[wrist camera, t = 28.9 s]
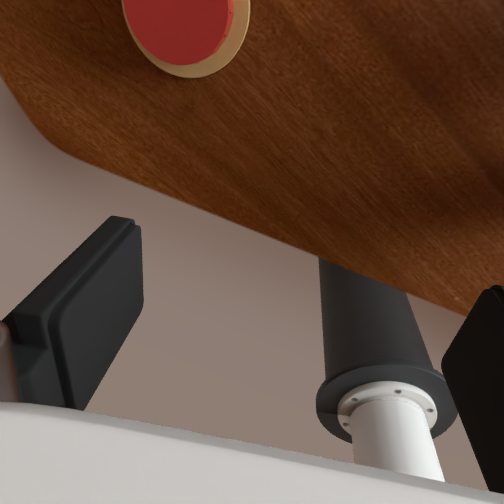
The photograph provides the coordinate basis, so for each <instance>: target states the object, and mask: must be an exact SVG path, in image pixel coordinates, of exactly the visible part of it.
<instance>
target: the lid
mask: <svg viewBox="0 0 504 504" xmlns="http://www.w3.org/2000/svg"><path fill="white" fill-rule="evenodd" d="M123 3H124V9H125V13H126V16H127V20H128V22H129V25H130V27H131V29H132V31H133V33H134V35H135V36H136V38H137V39H138V41H139V42H140V43H141V44H142V46H143V47H144V48H145V49H146V50H147V51H148V52H150V53H151V54H152V55H153V56H155V57H156V58H158V59H160V60H162V61H164V62H166V63H170V64H174V65H190V64H194V63H195V64H197V63H200V62H201V60H204V59H206V58H208V57H209V56H211V55H212V54H215V53H217V50H218V49H219V48H220V46H221V45H222V44H223V42H224V41H225V39H226V37H227V36H229V34H228V33H229V30H230V27H231V23H232V18H233V14H234V12H233V0H123Z"/></svg>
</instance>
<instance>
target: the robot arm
mask: <svg viewBox="0 0 504 504" xmlns="http://www.w3.org/2000/svg"><path fill="white" fill-rule="evenodd" d="M143 302H144V297H143V272H142V241H141V228H140V226H138V225H135V222H134V220H133V219H129V218H123V217H117V216H110V217H109V218H108V219H107V220H106V221H105V222H104V223H103V224H102V225H101V226H100V227H99V228H98V229H97V230H96V231H95V232H93V233H92V234H91V235H90V236H89V237H88V238H87V239H86V240H85V241H84V242H83V243H82V244H81V245H80V246H79V247H78V248H77V249H76V250H75V251H74V252H73V253H72V254H71V255H70V256H69V257H68V258H67V259H65V260H64V261H63V262H62V263H61V264H60V265H59V266H58V267H57V268H56V269H55V270H54V271H53V272H52V273H51V274H50V275H49V276H48V277H46V278H45V279H44V280H43V281H42V282H41V283H40V284H39V285H38V286H37V287H36V288H35V289H34V290H33V291H32V292H31V293H30V294H29V295H28V296H27V297H26V298H25V299H24V300H23V301H22V302H21V303H20V304H18V306H16V307H15V309H13V310H12V311H11V312H10V313H9V314H8V315H7V316H6V317H5V318H4V319H3V320H2V321H0V504H504V286H500V285H494V286H492V287H491V288H490V289H485V290H484V291H483V292H482V293H481V295H480V296H479V298H478V300H477V301H476V303H475V305H474V306H473V308H472V310H471V311H470V313H469V315H468V316H467V318H466V320H465V321H464V323H463V325H462V326H461V328H460V330H459V331H458V333H457V335H456V336H455V338H454V340H453V341H452V343H451V345H450V347H449V348H448V350H447V351H446V353H445V355H444V356H443V358H442V362H441V369H442V372H443V375H444V377H445V380H446V382H447V385H448V387H449V390H450V392H451V395H452V398H453V400H454V403H455V405H456V408H457V410H458V413H459V415H460V418H461V420H462V423H463V426H464V428H465V431H466V433H467V436H468V438H469V441H470V443H471V446H472V449H473V451H474V454H475V456H476V459H477V461H478V464H479V466H480V469H481V471H482V474H483V477H484V479H485V482H486V484H487V487H488V489H489V491H486V490H481V489H476V488H471V487H466V486H462V485H456V484H452V483H447V482H445V480H444V477H443V473H442V470H441V467H440V464H439V460H438V457H437V454H436V450H435V447H434V444H433V440H432V437H431V434H430V430H431V428H432V427H433V426H434V424H435V422H436V420H437V410H436V407H435V404H434V402H433V400H432V398H431V397H430V396H429V395H428V394H427V393H426V392H424V391H423V390H422V389H420V388H418V387H416V386H413V385H410V384H407V383H403V382H396V381H377V382H371V383H367V384H364V385H361V386H358V387H356V388H354V389H352V390H350V391H349V392H348V393H346V394H345V395H344V396H343V397H342V399H341V400H340V402H339V404H338V409H337V413H338V420H339V423H340V425H341V426H342V428H343V429H344V430H345V431H346V432H347V433H349V434H350V435H352V444H353V453H354V461H355V464H354V463H349V462H344V461H339V460H335V459H330V458H325V457H320V456H315V455H310V454H305V453H300V452H295V451H290V450H285V449H280V448H275V447H270V446H265V445H259V444H255V443H249V442H245V441H239V440H234V439H229V438H224V437H219V436H214V435H209V434H204V433H199V432H194V431H188V430H183V429H178V428H173V427H168V426H163V425H158V424H152V423H148V422H142V421H137V420H131V419H125V418H120V417H114V416H109V415H103V414H98V413H92V412H86V411H84V409H85V408H86V406H87V404H88V403H89V401H90V399H91V397H92V396H93V394H94V392H95V391H96V389H97V387H98V385H99V384H100V382H101V380H102V379H103V377H104V375H105V373H106V372H107V370H108V368H109V367H110V365H111V363H112V361H113V360H114V358H115V356H116V354H117V353H118V351H119V349H120V347H121V346H122V344H123V342H124V341H125V339H126V337H127V335H128V334H129V332H130V330H131V328H132V327H133V325H134V323H135V322H136V320H137V318H138V316H139V315H140V313H141V310H142V308H143Z"/></svg>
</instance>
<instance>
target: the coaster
mask: <svg viewBox="0 0 504 504" xmlns="http://www.w3.org/2000/svg"><path fill="white" fill-rule="evenodd" d="M121 1H122V8H123V13H124V17H125V20H126V23H127V26H128V29H129V31H130V33H131V35H132V37H133V39H134V41H135V42H136V44H137V46H138V47H139V49H140V50H141V51H142V52H143V54H144V55H145V56H146V57H147V58H148V59H149V60H150V61H151V62H152V63H154V64H155V65H156V66H157V67H159V68H161V69H162V70H164V71H166V72H168V73H170V74H172V75H176V76H179V77H185V78H198V77H204V76H207V75H210V74H212V73H214V72H217V71H218V70H220V69H221V68H223V67H224V66H225V65H226V64H228V63H229V62H230V61H231V60H232V58H233V57H234V56H235V55H236V53H237V52H238V50H239V49H240V47H241V45H242V43H243V41H244V38H245V35H246V32H247V29H248V24H249V18H250V0H233V12H234V14H233V18H232V23H231V27H230V30H229V33H228V34H229V36H227V37H226V39H225V41H224V42H223V44H222V45H221V46H220V48H219V49H218V50H217V53H215V54H212V55H211V56H209V57H208V58H206V59H204V60H201V62H200V63H197V64H195V63H194V64H190V65H174V64H170V63H166V62H164V61H162V60H160V59H158V58H156V57H155V56H153V55H152V54H151V53H150V52H148V51H147V50H146V49H145V48H144V47H143V46H142V44H141V43H140V42H139V41H138V39H137V38H136V36H135V35H134V33H133V31H132V29H131V27H130V25H129V22H128V20H127V16H126V13H125V9H124V3H123V0H121Z"/></svg>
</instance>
